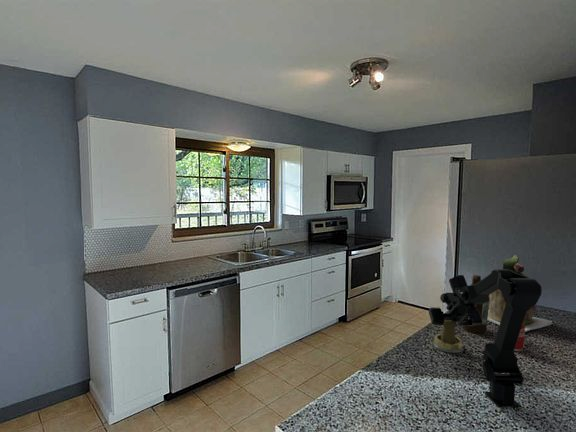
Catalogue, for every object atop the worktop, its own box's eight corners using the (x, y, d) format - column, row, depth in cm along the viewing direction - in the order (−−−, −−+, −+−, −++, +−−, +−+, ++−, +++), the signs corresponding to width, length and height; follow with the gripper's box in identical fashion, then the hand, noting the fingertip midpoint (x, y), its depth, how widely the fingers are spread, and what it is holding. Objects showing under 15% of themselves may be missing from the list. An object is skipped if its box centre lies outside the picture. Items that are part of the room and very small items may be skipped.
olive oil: (457, 329, 150) (460, 275, 148) (465, 323, 157) (468, 271, 155) (483, 336, 142) (486, 280, 140) (490, 330, 149) (493, 275, 148)
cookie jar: (470, 316, 167) (473, 253, 164) (501, 309, 177) (504, 250, 175) (522, 335, 144) (526, 263, 142) (554, 326, 155) (558, 258, 152)
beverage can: (505, 349, 130) (507, 320, 130) (503, 343, 136) (505, 315, 135) (524, 353, 127) (526, 323, 127) (522, 346, 133) (523, 317, 132)
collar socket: (469, 353, 127) (469, 345, 127) (441, 353, 127) (441, 345, 127) (453, 340, 138) (454, 333, 138) (428, 340, 138) (428, 333, 138)
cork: (454, 350, 128) (455, 322, 127) (438, 345, 132) (439, 318, 131) (458, 344, 133) (459, 318, 132) (441, 340, 137) (443, 314, 136)
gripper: (479, 288, 127) (463, 306, 139) (431, 287, 127) (419, 306, 139) (491, 315, 119) (472, 332, 131) (439, 315, 120) (426, 332, 131)
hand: (447, 324), depth 133 cm, fingers open, 9 cm apart
